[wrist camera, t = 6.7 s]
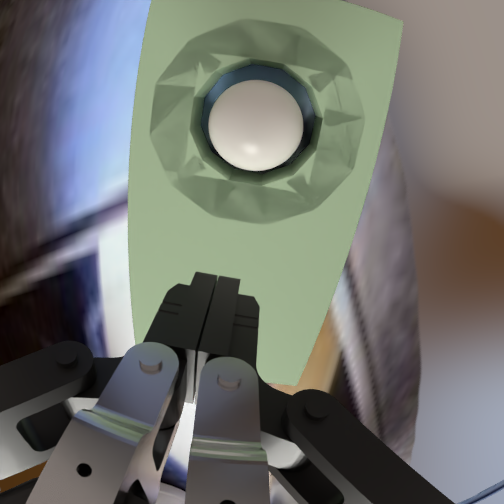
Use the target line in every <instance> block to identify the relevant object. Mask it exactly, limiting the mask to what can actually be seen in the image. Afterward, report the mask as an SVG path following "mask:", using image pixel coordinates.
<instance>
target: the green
mask: <svg viewBox="0 0 504 504" xmlns="http://www.w3.org/2000/svg"><path fill="white" fill-rule="evenodd" d="M402 29H403V21H401V20H398V19H396V18H393V17H391V16H388V15H385V14H382V13H380V12H377V11H374V10H371V9H368V8H365V7H362V6H358V5H355V4H352V3H349V2H345V1H342V0H151V4H150V9H149V13H148V18H147V23H146V28H145V33H144V38H143V44H142V50H141V56H140V62H139V68H138V75H137V83H136V90H135V99H134V108H133V118H132V129H131V142H130V158H129V180H128V253H129V276H130V292H131V305H132V317H133V327H134V336H135V345H137V344H140V343H143V341H144V338H145V336H146V334H147V332H148V330H149V328H150V326H151V324H152V322H153V319H154V317H155V315H156V313H157V311H158V309H159V307H160V305H161V303H162V302H163V299H164V297H165V295H166V293H167V291H168V290H169V289H171V288H172V287H173V286H175V285H176V284H178V283H180V284H185V285H190V284H191V282H192V279H193V277H194V274H195V272H196V271H197V272H202V273H208V274H214V275H218V277H219V275H220V276H226V277H232V278H237V279H241V280H240V286H239V292H238V294H242V295H248V296H254V297H255V299H256V301H257V303H258V305H259V306H260V312H259V328H258V345H257V360H256V368H257V371H258V374H259V376H260V377H261V379H262V380H263V381H264V382H267V383H275V384H284V385H293V386H297V384H298V381H299V379H300V377H301V375H302V372H303V370H304V368H305V365H306V363H307V361H308V358H309V356H310V354H311V351H312V349H313V346H314V344H315V342H316V339H317V337H318V334H319V332H320V329H321V327H322V324H323V322H324V319H325V316H326V314H327V311H328V309H329V306H330V303H331V301H332V298H333V295H334V293H335V290H336V287H337V284H338V282H339V279H340V276H341V273H342V270H343V267H344V265H345V262H346V259H347V256H348V253H349V250H350V247H351V244H352V241H353V238H354V234H355V231H356V228H357V225H358V222H359V218H360V215H361V212H362V209H363V205H364V202H365V198H366V195H367V191H368V188H369V184H370V181H371V177H372V173H373V170H374V166H375V162H376V158H377V154H378V151H379V147H380V142H381V138H382V134H383V130H384V126H385V121H386V117H387V112H388V108H389V102H390V98H391V93H392V88H393V83H394V78H395V72H396V67H397V61H398V55H399V49H400V42H401V36H402ZM251 64H254V65H261V66H267V67H273V68H279V69H283V70H284V71H285V72H286V73H288V74H289V75H290V76H291V77H293V78H294V79H295V80H296V81H298V82H299V83H300V84H301V85H302V86H304V87H305V88H306V91H307V93H308V96H309V99H310V102H311V104H312V107H313V110H314V113H315V121H314V126H313V130H312V135H311V140H310V144H309V145H308V146H307V147H306V148H305V149H304V150H303V151H302V153H301V154H300V155H299V156H298V157H297V158H296V159H295V160H294V161H293V162H292V163H291V165H288V166H285V167H282V168H279V169H276V170H273V171H270V172H267V173H264V174H261V173H255V172H249V171H243V170H237V169H233V168H232V167H231V166H230V165H228V164H227V163H226V162H224V161H223V160H222V159H221V158H219V157H218V156H217V155H215V154H214V153H213V152H212V151H211V149H210V147H209V144H208V142H207V140H206V137H205V135H204V132H203V130H202V128H201V119H202V112H203V105H204V99H205V96H206V95H207V94H208V93H209V91H210V90H211V89H212V88H213V86H214V85H215V84H216V83H217V82H218V80H219V79H220V78H221V77H222V76H223V75H224V74H226V73H229V72H232V71H234V70H237V69H240V68H242V67H245V66H248V65H251ZM217 281H218V279H217Z"/></svg>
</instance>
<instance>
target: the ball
mask: <svg viewBox="0 0 504 504" xmlns="http://www.w3.org/2000/svg"><path fill="white" fill-rule="evenodd" d="M209 134H210V139H211V141H212V144H213V146H214V147H215V149H216V150H217V152H218V153H219V155H220V156H221V157H222V158H223V159H225V160H226V161H227V162H229V163H230V164H232V165H234V166H236V167H238V168H241V169H244V170H250V171H262V170H267V169H271V168H274V167H276V166H278V165H280V164H282V163H283V162H285V161H286V160H287V159H288V158H289V157H290V156H291V155H292V154H293V153H294V152H295V150H296V149H297V147H298V145H299V143H300V141H301V138H302V134H303V117H302V113H301V110H300V108H299V106H298V104H297V102H296V101H295V99H294V98H293V97H292V95H291V94H290V93H289V92H287V91H286V90H285V89H284V88H282V87H281V86H279V85H277V84H274V83H272V82H269V81H264V80H248V81H243V82H240V83H237V84H235V85H233V86H231V87H230V88H228V89H227V90H225V91H224V92H223V93H222V94H221V95H220V96H219V97H218V99H217V100H216V101H215V103H214V105H213V107H212V109H211V112H210V116H209Z"/></svg>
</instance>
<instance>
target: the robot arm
mask: <svg viewBox="0 0 504 504" xmlns="http://www.w3.org/2000/svg"><path fill="white" fill-rule="evenodd" d="M217 279H218V281H217ZM240 280H241V279H237V278H232V277H226V276H220V275H219V277H218V275H214V274H208V273H202V272H197V271H196V272H195V274H194V277H193V279H192V282H191V284H190V285H185V284H180V283H178V284H176V285H175V286H173V287H172V288H171V289H169V290H168V291H167V293H166V295H165V297H164V299H163V302H162V303H161V305H160V307H159V309H158V311H157V313H156V315H155V317H154V319H153V322H152V324H151V326H150V328H149V330H148V332H147V334H146V336H145V338H144V341H143V343H140V344H137V345H135V346H133V347H132V348H130V349H129V350H128V351H127V352H126V354H125V355H124V356H123V357H118V358H93V355H92V353H91V351H90V349H89V348H88V347H87V346H85V345H84V344H82V343H80V342H76V341H63V342H60V343H57V344H54V345H52V346H49V347H47V348H44V349H42V350H39V351H37V352H34V353H32V354H29V355H27V356H24V357H22V358H19V359H17V360H14V361H12V362H9V363H7V364H4V365H2V366H0V480H1V479H4V478H7V477H9V476H12V475H14V474H16V473H19V472H21V471H24V470H26V469H28V468H31V467H33V466H35V465H38V464H40V463H42V462H44V461H47V460H48V462H47V463H46V466H45V467H44V469H43V471H42V473H41V475H40V477H38V478H34V479H31V480H29V481H27V482H24V483H22V484H20V485H18V486H16V487H14V488H11V489H9V490H7V491H5V492H2V493H0V504H155V503H156V500H157V497H158V493H159V488H160V480H161V475H162V472H163V469H164V466H165V463H166V460H167V457H168V454H169V452H170V449H171V446H172V443H173V440H174V437H175V434H176V432H177V429H178V426H179V422H180V417H181V414H182V410H183V406H184V402H187V403H192V404H193V400H194V396H195V404H197V405H196V413H195V421H194V430H193V438H192V443H191V448H190V455H189V464H188V473H187V483H186V494H185V504H455V503H453V502H452V501H451V500H450V499H448V498H447V497H446V496H445V495H444V494H442V493H441V492H440V491H439V490H437V489H436V488H435V487H434V486H433V485H431V484H430V483H429V482H428V481H427V480H425V479H424V478H423V477H422V476H421V475H420V474H418V473H417V472H416V471H415V470H414V469H412V468H411V467H410V466H409V465H408V464H407V463H406V462H404V461H403V460H402V459H401V458H400V457H399V456H398V455H396V454H395V453H394V452H393V451H392V450H391V449H390V448H388V447H387V446H386V445H385V444H384V443H383V442H382V441H381V440H380V439H378V438H377V437H376V436H375V435H374V434H373V433H372V432H371V431H370V430H368V429H367V428H366V427H365V426H364V425H363V424H362V423H361V422H360V421H359V420H358V419H356V418H355V417H354V416H353V415H352V414H351V413H350V412H349V411H348V410H347V409H346V408H345V407H344V406H342V405H341V404H340V403H339V402H338V401H337V400H336V399H335V398H334V397H333V396H331V395H330V394H328V393H326V392H323V391H320V390H315V389H307V390H302V391H299V392H297V393H295V394H294V395H293V396H292V395H289V394H286V393H284V392H281V391H279V390H276V389H274V388H272V387H271V386H269V385H268V384H266V383H265V382H264V381H263V380H262V379H261V377H260V376H259V374H258V371H257V368H256V360H257V345H258V328H259V312H260V306H259V305H258V303H257V301H256V299H255V297H254V296H248V295H242V294H238V292H239V286H240ZM195 392H196V395H195ZM269 471H270V472H271V474H272V475H271V477H270V488H269Z"/></svg>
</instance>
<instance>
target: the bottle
mask: <svg viewBox="0 0 504 504" xmlns="http://www.w3.org/2000/svg"><path fill="white" fill-rule="evenodd" d="M185 494H186V492H185V491H183V490H181V489H179V488H176V487H174V486H171V485H168V484H165V483H162V482H160V488H159V493H158V497H157V500H156V503H155V504H185Z"/></svg>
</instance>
